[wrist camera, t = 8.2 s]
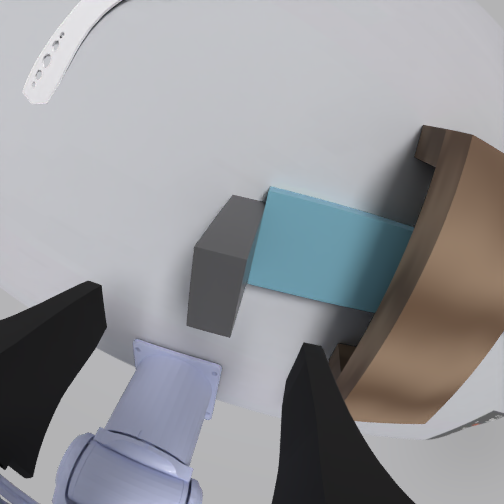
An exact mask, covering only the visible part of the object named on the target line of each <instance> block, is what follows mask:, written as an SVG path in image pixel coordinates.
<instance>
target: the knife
mask: <svg viewBox="0 0 504 504" xmlns="http://www.w3.org/2000/svg"><path fill="white" fill-rule="evenodd" d="M121 1H122V0H81V1H80V2H79V3H78V4H77V5H76V7H75V8H74V9H73V10H72V11H71V12H70V14H69V15H68V16H67V17H66V18H65V20H64V21H63V22H62V23H61V25H60V26H59V27H58V29H57V30H56V31H55V33H54V34H53V35H52V37H51V38H50V40H49V41H48V43H47V44H46V46H45V47H44V49H43V50H42V52H41V53H40V55H39V57H38V58H37V60H36V62H35V64H34V66H33V68H32V70H31V72H30V74H29V76H28V79H27V81H26V84H25V86H24V89H23V94H24V95H25V96H26V97H27V99H28V100H29V101H30V103H31V104H47V103H48V101H49V100H50V98H51V97H52V95H53V93H54V92H55V90H56V88H57V87H58V85H59V84H60V82H61V80H62V78H63V76H64V74H65V72H66V70H67V68H68V66H69V64H70V63H71V61H72V59H73V57H74V55H75V53H76V51H77V49H78V48H79V46H80V44H81V43H82V41H83V40H84V38H85V37H86V35H87V34H88V32H89V31H90V30H91V28H92V27H93V26H94V25H95V24H96V23H97V22H98V20H99V19H100V18H101V17H102V16H103V15H104V14H105V13H106V12H107V11H109V10H110V9H111V8H112V7H114V6H115V5H116V4H118V3H119V2H121ZM63 33H64V36H63V38H62V35H63ZM56 41H59V46H58V48H57V50H56V51H54V47H53V46H54V44H55V43H56ZM48 54H50V56H51V61H50V64H49V65H48V66H47V67H44V64H43V62H44V59H45V57H46V56H47V55H48ZM39 70H41V72H42V76H41V78H40V79H39V80H38V79H37V76H36V74H37V73H38V71H39ZM33 82H35V87H34V88H33V87H32V84H33Z"/></svg>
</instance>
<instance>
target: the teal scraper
mask: <svg viewBox="0 0 504 504" xmlns="http://www.w3.org/2000/svg"><path fill="white" fill-rule="evenodd" d="M413 230H414V227H411V226H408V225H405V224H402V223H399V222H396V221H393V220H390V219H387V218H383V217H380V216H377V215H374V214H370V213H367V212H364V211H360V210H357V209H354V208H350V207H347V206H343V205H340V204H336V203H333V202H329V201H325V200H322V199H318V198H314V197H310V196H307V195H303V194H299V193H295V192H291V191H287V190H283V189H279V188H275V187H271V186H270V189H269V192H268V196H267V201H266V203H265V202H261V201H257V200H253V199H249V198H244V197H240V196H236V195H232V197H231V198H230V199H229V201H228V202H227V203H226V205H225V206H224V207H223V209H222V210H221V211H220V213H219V214H218V215H217V217H216V218H215V219H214V221H213V222H212V223H211V225H210V226H209V227H208V229H207V230H206V231H205V233H204V234H203V236H202V237H201V238H200V240H199V241H198V242H197V244H196V245H195V247H194V255H193V264H192V273H191V282H190V292H189V303H188V314H187V326H189V327H193V328H196V329H200V330H203V331H207V332H211V333H214V334H218V335H222V336H226V337H229V338H230V336H231V333H232V330H233V326H234V323H235V320H236V316H237V313H238V310H239V307H240V303H241V300H242V297H243V293H244V290H245V287H246V283H247V280H248V283H247V284H251V285H255V286H259V287H263V288H267V289H271V290H276V291H280V292H284V293H288V294H292V295H296V296H301V297H305V298H309V299H314V300H318V301H322V302H327V303H331V304H335V305H340V306H344V307H349V308H353V309H358V310H363V311H367V312H372V313H376V311H377V309H378V307H379V305H380V303H381V301H382V299H383V297H384V295H385V293H386V291H387V289H388V287H389V285H390V283H391V281H392V278H393V276H394V274H395V272H396V270H397V268H398V265H399V263H400V261H401V259H402V256H403V254H404V252H405V249H406V247H407V245H408V242H409V240H410V237H411V235H412V233H413ZM249 273H250V274H249ZM248 277H249V279H248Z"/></svg>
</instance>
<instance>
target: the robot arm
mask: <svg viewBox="0 0 504 504" xmlns="http://www.w3.org/2000/svg"><path fill="white" fill-rule="evenodd" d="M106 328H107V325H106V318H105V311H104V303H103V294H102V285H99V284H96V283H94V282H91V281H86V282H84V283H81V284H79V285H77V286H75V287H73V288H71V289H69V290H66V291H64V292H62V293H60V294H58V295H56V296H54V297H52V298H50V299H48V300H46V301H44V302H42V303H40V304H38V305H36V306H33V307H31V308H29V309H27V310H24V311H22V312H20V313H18V314H16V315H13V316H11V317H8V318H6V319H3V320H0V467H1V468H3V469H4V470H6V468H7V466H10V467H11V468H12V469H13V470H15V471H16V472H18V473H19V474H20V475H22V476H23V477H24V478H31V477H33V474H34V469H35V465H36V461H37V457H38V454H39V451H40V448H41V445H42V442H43V439H44V436H45V433H46V431H47V428H48V426H49V423H50V421H51V419H52V417H53V414H54V412H55V410H56V408H57V406H58V404H59V402H60V400H61V398H62V397H63V395H64V393H65V392H66V390H67V388H68V387H69V386H70V384H71V383H72V381H73V380H74V378H75V377H76V375H77V374H78V373H79V371H80V370H81V368H82V367H83V366H84V364H85V363H86V361H87V360H88V358H89V357H90V356H91V354H92V353H93V351H94V350H95V348H96V347H97V345H98V343H99V341H100V339H101V337H102V335H103V333H104V331H105V330H106ZM133 350H134V358H135V367H136V371H135V373H134V375H133V377H132V378H131V380H130V382H129V384H128V386H127V387H126V389H125V391H124V393H123V395H122V397H121V398H120V400H119V402H118V404H117V406H116V408H115V409H114V411H113V413H112V415H111V417H110V419H109V421H108V423H107V425H106V426H105V428H104V429H103V428H101V427H99V429H98V431H97V433H96V435H93V434H92V433H85V434H83V435H79V436H77V437H76V438H75V439H74V440H73V442H72V443H71V444H70V446H69V447H68V449H67V450H66V452H65V454H64V456H63V458H62V460H61V463H60V465H59V468H58V471H57V475H56V488H55V492H54V495H53V499H52V503H53V504H202V497H203V492H202V489H201V487H200V486H199V483H198V481H197V480H195V479H192V478H191V475H192V472H193V468H191V467H189V465H190V461H191V459H192V456H193V452H194V449H195V446H196V443H197V440H198V436H199V433H200V430H201V426H202V423H203V420H204V419H206V420H210V419H211V418H212V414H213V409H214V404H215V399H216V395H217V390H218V385H219V380H220V376H221V371H222V367H221V366H220V365H219V364H217V363H213V362H209V361H206V360H202V359H199V358H195V357H192V356H189V355H185V354H182V353H179V352H176V351H172V350H169V349H166V348H163V347H160V346H157V345H154V344H151V343H148V342H145V341H143V340H140V339H135V340H134V342H133ZM0 494H1V495H2V496H3V497H4V498H6V499H7V500H8V501H9V502H11V503H12V504H39V503H38V502H36V501H35V500H33V499H32V498H30V497H29V496H28V495H26V494H25V493H24V492H22V491H21V490H20V489H18V488H17V487H15V486H14V485H13V484H12V483H11V482H9V481H8V480H7V479H6V478H4V477H3V476H2V475H1V474H0ZM0 504H8V503H7V502H5V501H4V500H2V499H1V498H0ZM272 504H415V503H414V502H413V501H412V500H411V499H410V498H409V497H408V496H407V495H406V494H405V493H404V492H403V490H402V489H401V488H400V487H399V486H398V485H397V484H396V483H395V481H394V480H393V479H392V478H391V476H390V475H389V474H388V472H387V471H386V470H385V469H384V467H383V466H382V465H381V464H380V462H379V461H378V460H377V458H376V456H375V455H374V454H373V452H372V451H371V449H370V448H369V446H368V444H367V443H366V441H365V439H364V438H363V436H362V434H361V433H360V431H359V429H358V427H357V425H356V424H355V422H354V420H353V418H352V416H351V414H350V412H349V410H348V408H347V406H346V404H345V401H344V399H343V397H342V395H341V393H340V390H339V388H338V386H337V383H336V381H335V379H334V376H333V374H332V371H331V369H330V366H329V364H328V361H327V358H326V356H325V353H324V350H323V348H322V346H318V345H314V344H309V343H303V345H302V347H301V349H300V352H299V354H298V356H297V358H296V360H295V363H294V365H293V367H292V369H291V371H290V373H289V375H288V378H287V380H286V385H285V391H284V397H283V404H282V418H281V439H280V457H279V467H278V474H277V480H276V486H275V490H274V496H273V500H272Z"/></svg>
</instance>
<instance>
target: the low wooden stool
mask: <svg viewBox="0 0 504 504" xmlns="http://www.w3.org/2000/svg"><path fill="white" fill-rule="evenodd" d="M414 157H415V158H417V159H419V160H421V161H423V162H426V163H428V164H430V165H432V166H434V167H436V168H435V171H434V174H433V178H432V181H431V184H430V187H429V190H428V192H427V195H426V198H425V201H424V204H423V207H422V209H421V212H420V215H419V217H418V220H417V222H416V225H415V228H414V230H413V233H412V235H411V237H410V240H409V242H408V245H407V247H406V249H405V252H404V254H403V256H402V259H401V261H400V263H399V265H398V268H397V270H396V272H395V274H394V276H393V278H392V281H391V283H390V285H389V287H388V289H387V291H386V293H385V295H384V297H383V299H382V301H381V303H380V305H379V307H378V309H377V311H376V313H375V315H374V317H373V318H372V320H371V322H370V324H369V326H368V328H367V330H366V331H365V333H364V335H363V337H362V338H361V340H360V342H359V344H358V346H357V347H355V346H349V345H344V344H339V343H338V344H337V346H336V348H335V350H334V352H333V354H332V356H331V357H330V359H329V366H330V369H331V371H332V374H333V376H334V379H335V381H336V383H337V386H338V388H339V390H340V393H341V395H342V397H343V399H344V401H345V404H346V406H347V408H348V410H349V412H350V414H351V416H352V418H353V420H354V421H362V422H376V423H397V424H425V423H426V422H427V421H428V420H429V419H430V418H431V417H432V416H433V415H434V414H435V413H436V412H437V411H438V410H439V409H440V408H441V407H442V406H443V405H444V404H445V403H446V402H447V401H448V400H449V399H450V398H451V397H452V396H453V395H454V394H455V392H456V391H457V390H458V389H459V388H460V387H461V386H462V385H463V383H464V382H465V381H466V380H467V379H468V377H469V376H470V375H471V374H472V373H473V371H474V370H475V369H476V368H477V366H478V365H479V364H480V363H481V361H482V360H483V359H484V357H485V356H486V355H487V353H488V352H489V351H490V349H491V348H492V347H493V345H494V344H495V342H496V341H497V340H498V338H499V337H500V335H501V334H502V332H503V331H504V153H502V152H501V151H499V150H497V149H496V148H494V147H493V146H491V145H489V144H488V143H486V142H484V141H483V140H481V139H479V138H477V137H476V136H474V135H471V134H467V133H462V132H458V131H453V130H448V129H443V128H437V127H432V126H426V125H423V127H422V131H421V135H420V139H419V142H418V146H417V149H416V153H415V156H414Z"/></svg>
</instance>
